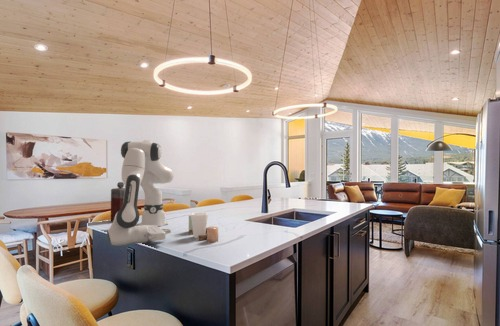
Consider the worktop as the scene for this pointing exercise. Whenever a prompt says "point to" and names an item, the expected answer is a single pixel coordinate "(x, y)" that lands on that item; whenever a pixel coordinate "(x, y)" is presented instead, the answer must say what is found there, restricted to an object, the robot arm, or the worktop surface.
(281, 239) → the worktop surface
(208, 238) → the orange-brown cylindrical block
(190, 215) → the sage tin
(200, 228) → the foam cup
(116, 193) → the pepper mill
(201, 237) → the bay
